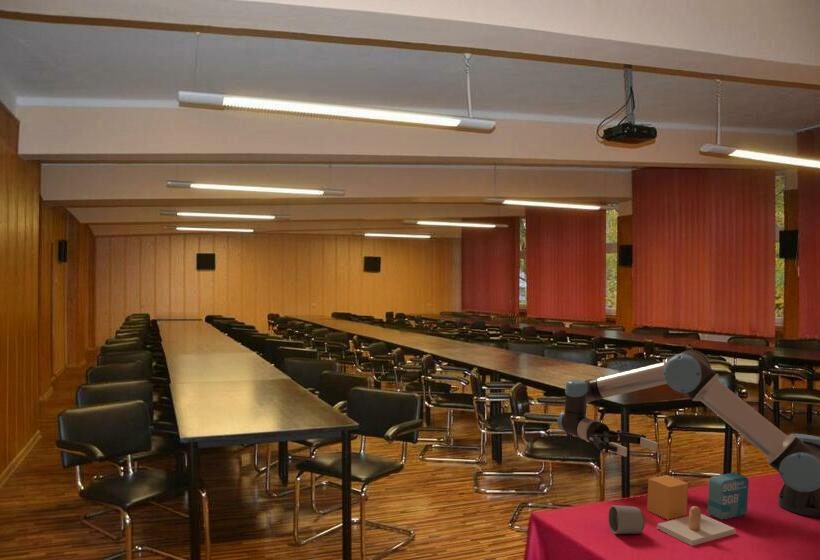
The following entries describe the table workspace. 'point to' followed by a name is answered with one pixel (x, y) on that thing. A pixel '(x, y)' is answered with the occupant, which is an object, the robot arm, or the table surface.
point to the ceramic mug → (626, 520)
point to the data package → (728, 495)
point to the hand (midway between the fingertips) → (641, 449)
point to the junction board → (696, 536)
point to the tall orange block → (667, 497)
